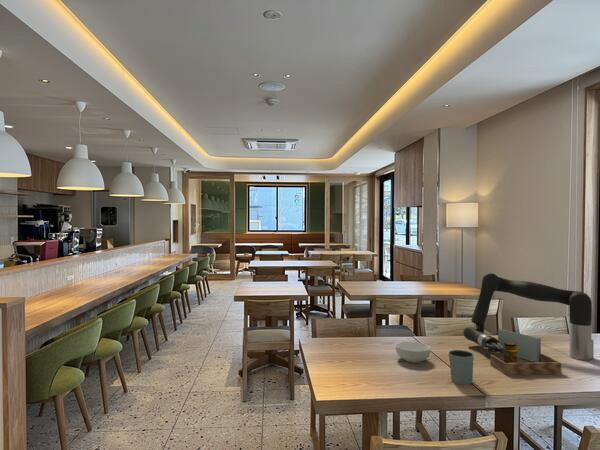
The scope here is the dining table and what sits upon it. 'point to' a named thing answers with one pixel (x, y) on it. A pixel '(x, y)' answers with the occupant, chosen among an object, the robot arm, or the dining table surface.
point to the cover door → (522, 344)
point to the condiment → (509, 352)
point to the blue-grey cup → (461, 366)
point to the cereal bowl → (413, 351)
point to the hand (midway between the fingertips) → (506, 352)
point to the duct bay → (527, 366)
